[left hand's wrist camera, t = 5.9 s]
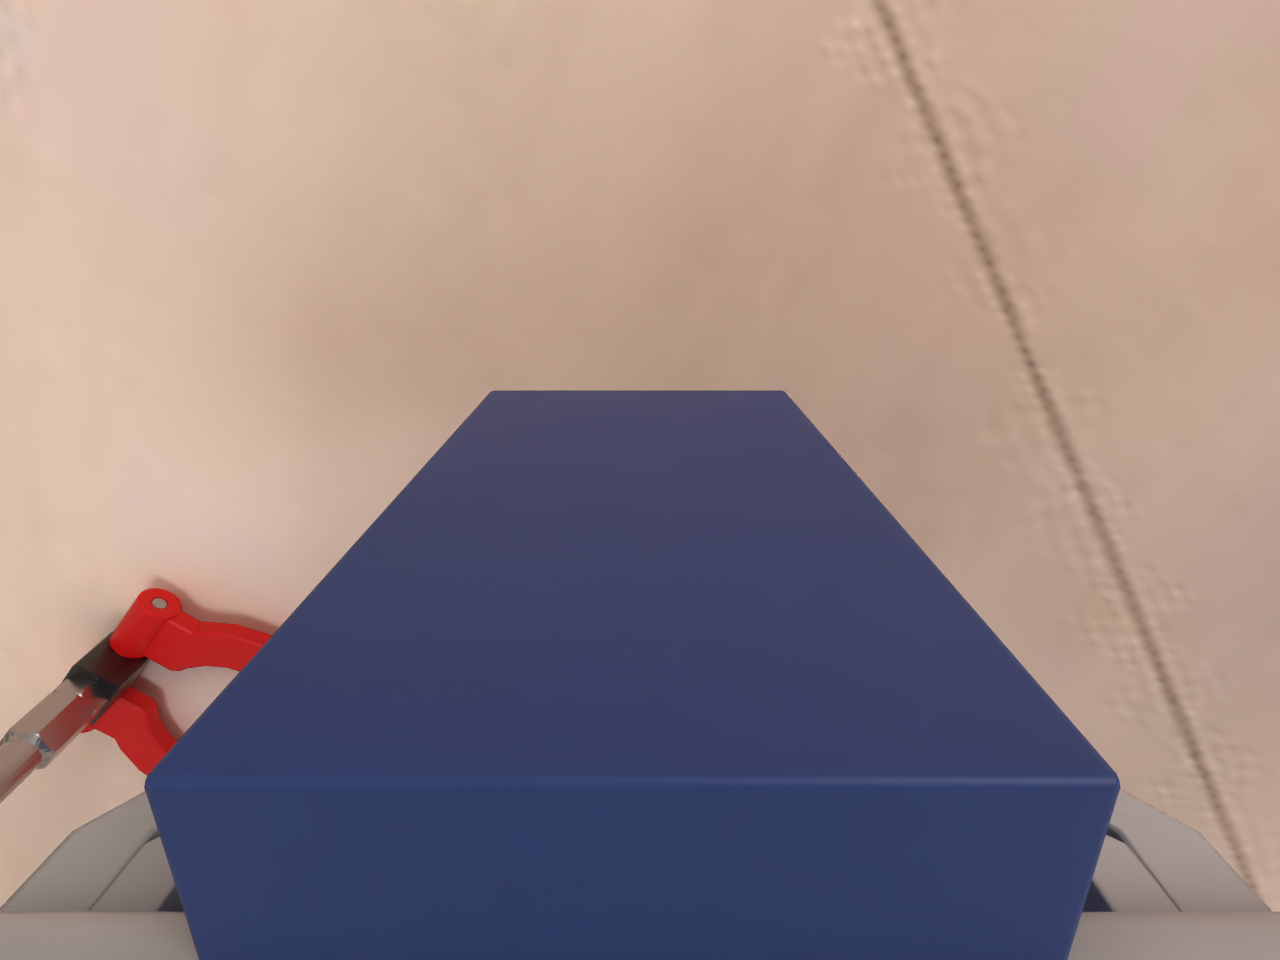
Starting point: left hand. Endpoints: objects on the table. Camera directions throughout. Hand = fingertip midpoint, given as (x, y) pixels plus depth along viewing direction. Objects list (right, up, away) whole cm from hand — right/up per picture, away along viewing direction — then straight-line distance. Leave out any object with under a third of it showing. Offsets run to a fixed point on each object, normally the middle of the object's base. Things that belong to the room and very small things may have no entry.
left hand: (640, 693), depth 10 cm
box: (0, -8, +9) cm, 12 cm away
